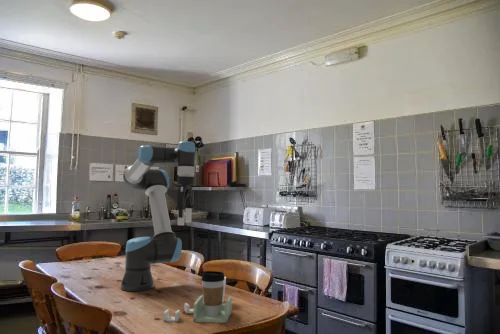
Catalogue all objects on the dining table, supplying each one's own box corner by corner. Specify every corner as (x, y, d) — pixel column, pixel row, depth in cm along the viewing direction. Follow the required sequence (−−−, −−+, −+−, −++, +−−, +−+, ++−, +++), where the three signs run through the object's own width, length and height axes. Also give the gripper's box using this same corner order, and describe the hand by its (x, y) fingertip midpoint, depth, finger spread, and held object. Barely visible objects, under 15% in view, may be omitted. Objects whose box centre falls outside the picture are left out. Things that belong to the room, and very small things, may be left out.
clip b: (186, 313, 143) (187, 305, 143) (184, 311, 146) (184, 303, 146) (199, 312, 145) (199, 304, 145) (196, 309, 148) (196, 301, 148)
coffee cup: (201, 310, 144) (201, 270, 145) (224, 309, 144) (224, 269, 146) (201, 317, 135) (201, 274, 136) (225, 316, 136) (225, 274, 137)
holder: (193, 321, 134) (193, 304, 135) (200, 311, 146) (200, 295, 147) (227, 322, 133) (227, 305, 134) (231, 312, 145) (231, 296, 146)
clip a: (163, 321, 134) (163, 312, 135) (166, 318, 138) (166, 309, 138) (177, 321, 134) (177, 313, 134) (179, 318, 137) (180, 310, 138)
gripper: (187, 175, 158) (186, 226, 157) (199, 177, 183) (198, 221, 182) (169, 174, 159) (168, 226, 158) (184, 176, 184) (183, 221, 183)
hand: (184, 223), depth 170 cm, fingers open, 13 cm apart
